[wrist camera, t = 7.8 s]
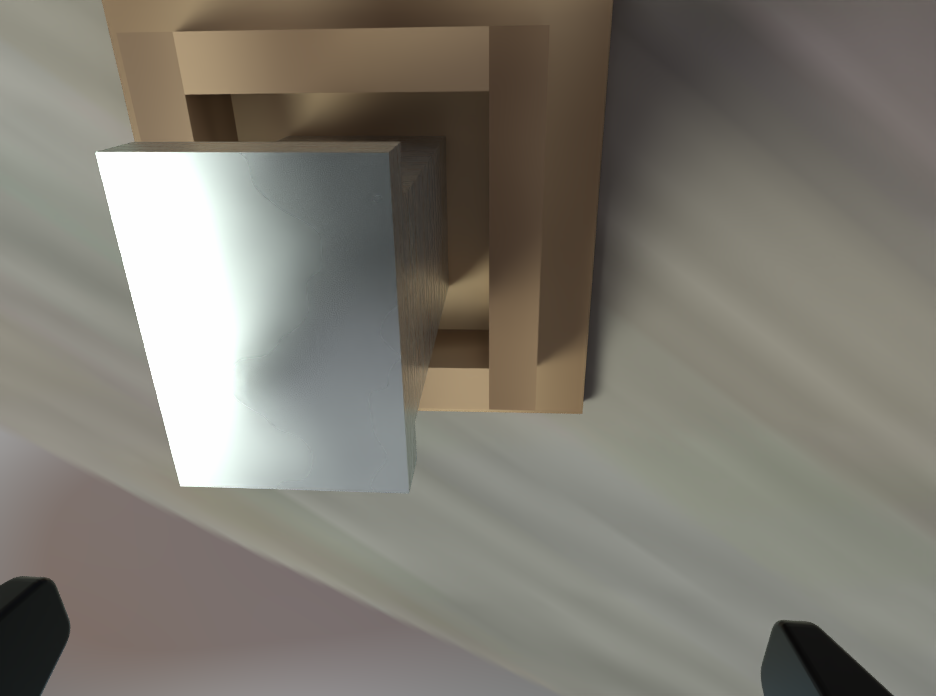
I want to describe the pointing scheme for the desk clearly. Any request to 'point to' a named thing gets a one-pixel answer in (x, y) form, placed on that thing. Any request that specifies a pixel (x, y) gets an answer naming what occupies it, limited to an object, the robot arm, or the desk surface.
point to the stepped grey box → (286, 301)
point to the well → (420, 114)
